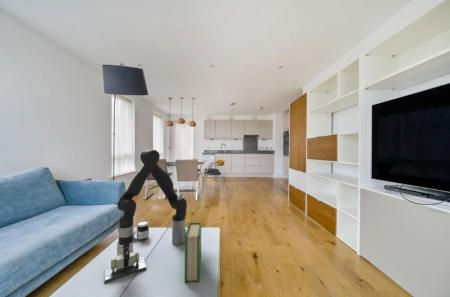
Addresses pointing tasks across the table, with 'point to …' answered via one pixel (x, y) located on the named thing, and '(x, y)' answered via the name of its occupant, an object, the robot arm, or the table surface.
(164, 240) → the table surface
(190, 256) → the hardback book
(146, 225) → the spread jar
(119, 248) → the ink cartridge box
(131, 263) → the green tabbed block
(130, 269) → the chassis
